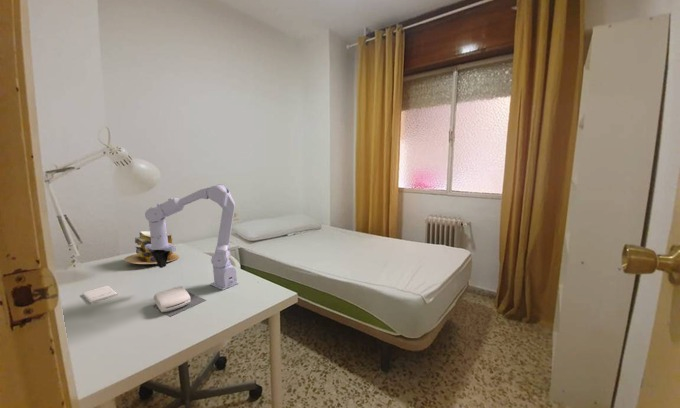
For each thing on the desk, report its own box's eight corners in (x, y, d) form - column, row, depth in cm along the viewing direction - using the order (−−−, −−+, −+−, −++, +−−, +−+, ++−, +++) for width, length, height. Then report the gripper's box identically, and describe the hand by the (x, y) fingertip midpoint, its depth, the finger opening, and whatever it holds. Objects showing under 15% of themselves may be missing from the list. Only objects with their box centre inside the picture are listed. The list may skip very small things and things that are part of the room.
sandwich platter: (175, 250, 164) (172, 224, 162) (182, 261, 145) (179, 232, 143) (125, 260, 148) (121, 231, 146) (125, 273, 129) (121, 240, 127)
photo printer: (183, 284, 106) (192, 294, 98) (184, 294, 107) (193, 305, 98) (152, 293, 99) (159, 305, 91) (153, 303, 100) (160, 316, 91)
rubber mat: (206, 300, 102) (206, 299, 102) (170, 316, 91) (170, 316, 91) (188, 292, 109) (188, 291, 109) (153, 306, 98) (153, 305, 98)
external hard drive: (108, 288, 114) (118, 296, 107) (82, 296, 108) (91, 305, 101) (108, 285, 114) (117, 292, 107) (82, 292, 107) (90, 301, 100)
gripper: (181, 234, 110) (184, 264, 112) (154, 232, 114) (158, 261, 116) (165, 238, 103) (169, 271, 105) (138, 236, 107) (142, 267, 109)
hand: (162, 266), depth 110 cm, fingers closed
